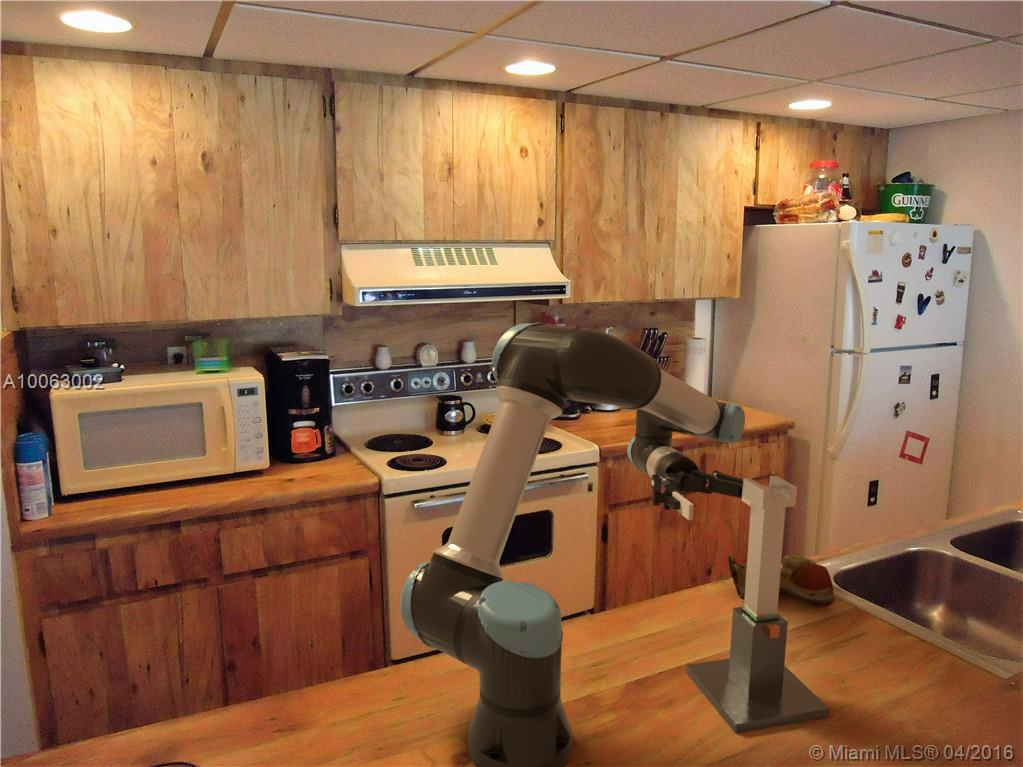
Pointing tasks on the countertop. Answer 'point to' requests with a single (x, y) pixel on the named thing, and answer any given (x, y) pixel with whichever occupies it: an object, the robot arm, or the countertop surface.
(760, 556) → the column
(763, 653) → the stand
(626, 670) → the countertop surface
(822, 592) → the beige sneaker
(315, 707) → the countertop surface
